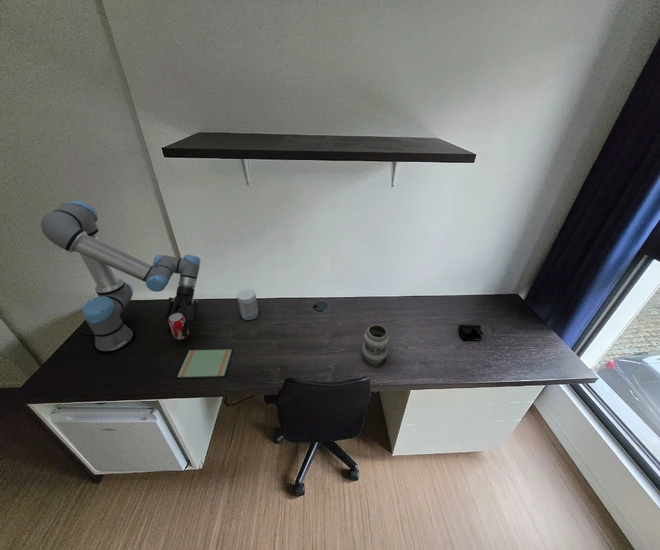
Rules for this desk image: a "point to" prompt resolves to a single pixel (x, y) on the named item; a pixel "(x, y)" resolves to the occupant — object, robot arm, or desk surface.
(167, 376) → the desk surface
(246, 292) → the supplement tub
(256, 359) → the desk surface
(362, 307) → the desk surface
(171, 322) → the soda can
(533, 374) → the desk surface
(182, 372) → the towel
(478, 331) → the end cap
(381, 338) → the apothecary jar
